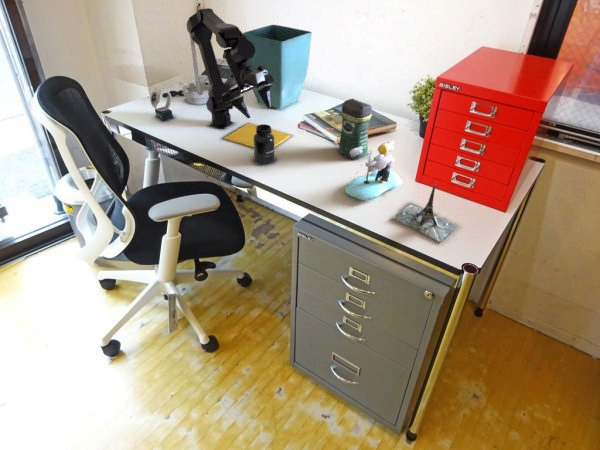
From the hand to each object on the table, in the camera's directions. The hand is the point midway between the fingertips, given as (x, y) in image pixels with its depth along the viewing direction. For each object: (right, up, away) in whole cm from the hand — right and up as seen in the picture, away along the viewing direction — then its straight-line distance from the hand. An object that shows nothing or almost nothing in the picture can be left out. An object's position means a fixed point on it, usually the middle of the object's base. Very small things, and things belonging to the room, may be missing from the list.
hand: (259, 113), depth 145 cm
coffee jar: (+32, -12, +7) cm, 35 cm away
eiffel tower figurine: (+48, -37, -24) cm, 65 cm away
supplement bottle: (+1, -15, +2) cm, 16 cm away
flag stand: (-30, +17, +44) cm, 56 cm away
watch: (-40, +5, +29) cm, 50 cm away
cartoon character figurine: (+36, -26, -10) cm, 45 cm away
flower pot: (+4, +16, +43) cm, 46 cm away
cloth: (-2, -5, +16) cm, 17 cm away
